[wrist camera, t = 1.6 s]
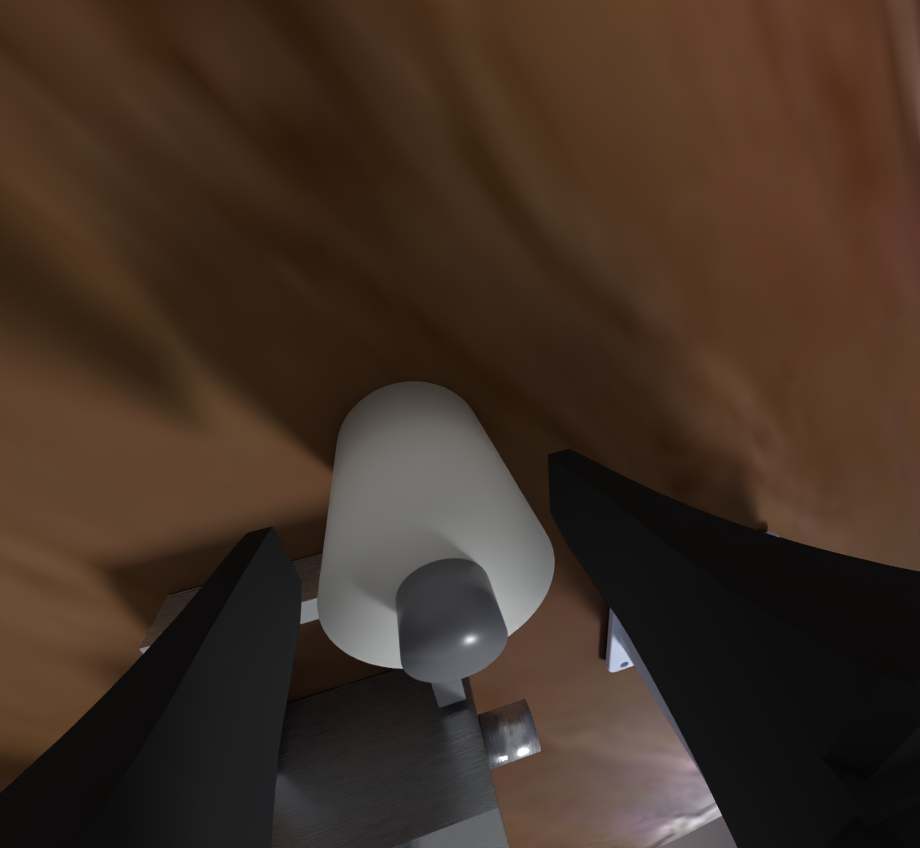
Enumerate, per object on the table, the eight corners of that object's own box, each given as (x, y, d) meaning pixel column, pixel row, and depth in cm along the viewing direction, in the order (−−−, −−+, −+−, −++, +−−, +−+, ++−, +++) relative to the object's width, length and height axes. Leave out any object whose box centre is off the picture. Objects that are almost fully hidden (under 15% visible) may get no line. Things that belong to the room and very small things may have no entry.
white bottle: (471, 366, 12) (584, 509, 6) (488, 486, 15) (580, 678, 8) (315, 400, 12) (258, 601, 5) (359, 521, 14) (356, 755, 8)
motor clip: (293, 759, 20) (263, 989, 14) (158, 597, 13) (-9, 898, 7) (514, 685, 22) (572, 863, 16) (488, 507, 15) (572, 695, 9)
